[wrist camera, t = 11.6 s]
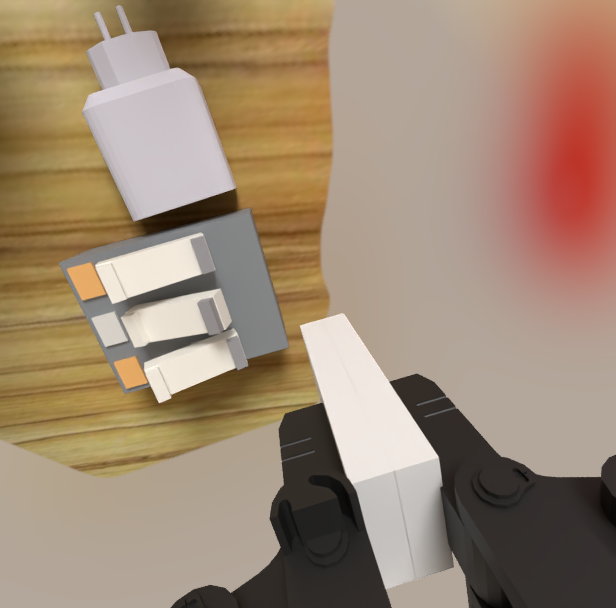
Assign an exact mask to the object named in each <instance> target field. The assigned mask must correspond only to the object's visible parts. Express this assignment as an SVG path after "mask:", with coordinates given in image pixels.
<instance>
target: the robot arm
mask: <svg viewBox="0 0 616 608" xmlns="http://www.w3.org/2000/svg"><path fill="white" fill-rule="evenodd" d="M300 328H301V331H302V335H303V339H304V342H305V346H306V350H307V353H308V357H309V361H310V365H311V368H312V372H313V376H314V379H315V383H316V387H317V390H318V394H319V397H320V401H321V403H320V404H316V405H313V406H310V407H306V408H303V409H299V410H296V411H292V412H289V413H286V414H285V415H284V418H283V420H282V422H281V425H280V427H279V438H280V447H281V458H282V469H283V478H284V486H282V487H281V488H280V490H279V491H278V493H277V495H276V497H275V498H274V500H273V502H272V507H271V513H270V521H271V523H272V526H273V529H274V531H275V534H276V536H277V539H278V541H279V544H280V547H281V548H280V550H279V552H278V554H277V555H276V556H275V557H274V559H273V560H272V561H271V563H270V564H269V565H268V566H267V567H266V568H265V569H263V570H262V571H261V572H260V573H259V574H257V575H256V576H255V577H253V578H252V579H250V580H249V581H248V582H246V583H245V584H243V585H242V586H240V587H239V588H238V589H236V590H235V591H233V592H232V593H230V592H229V591H228V590H227V589H226V588H223V587H218V586H213V585H208V586H205V587H201V588H198V589H194V590H192V591H191V592H189V593H188V594H186V595H185V596H183V597H182V598H181V599H179V600H177V601H176V602H175V603H174V604H173V606H172V607H171V608H392V607H391V604H390V601H389V598H388V595H387V592H386V589H388V588H391V587H394V586H398V585H400V584H404V583H407V582H410V581H413V580H416V579H419V578H422V577H425V576H428V575H431V574H434V573H438V572H441V571H443V570H447V569H450V568H453V567H454V565H453V557H452V551H453V553H454V555H455V557H456V559H457V561H458V563H459V565H460V566H461V569H462V570H463V572H464V574H465V578H466V586H467V594H468V602H469V608H616V455H614V456H612V457H609V458H608V460H607V461H606V462H605V463H604V465H603V466H602V471H601V477H547V476H541V475H537V474H535V473H534V472H532V471H531V470H530V469H529V468H527V467H526V466H525V465H523V464H521V463H518V462H516V461H514V460H511V459H509V458H505V457H501V456H500V455H499V454H498V453H496V451H495V450H494V449H493V448H492V447H491V446H490V445H489V444H488V442H487V441H486V440H485V439H484V438H483V437H482V436H481V434H480V433H479V432H478V431H477V430H476V429H475V428H474V427H473V425H472V424H471V423H470V422H469V421H468V420H467V419H466V418H465V416H464V415H463V414H462V413H461V412H460V411H459V410H458V409H456V407H455V405H454V404H453V403H452V402H451V400H450V399H449V398H447V397H446V395H445V394H444V393H443V391H442V390H441V389H440V388H439V387H438V386H437V385H436V384H435V382H433V381H431V380H429V379H427V378H425V377H423V376H421V375H419V374H414V375H411V376H407V377H404V378H400V379H397V380H393V381H390V382H389V381H388V380H387V378H386V377H385V375H384V374H383V372H382V371H381V369H380V368H379V366H378V365H377V364H376V362H375V360H374V359H373V357H372V356H371V354H370V353H369V351H368V350H367V348H366V347H365V345H364V344H363V342H362V341H361V339H360V338H359V336H358V335H357V333H356V332H355V330H354V329H353V327H352V326H351V324H350V323H349V321H348V319H347V318H346V316H345V315H344V314H343V313H342V314H339V315H335V316H332V317H328V318H325V319H321V320H317V321H314V322H310V323H307V324H303V325H300Z"/></svg>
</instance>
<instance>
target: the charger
mask: <svg viewBox="0 0 616 608" xmlns="http://www.w3.org/2000/svg"><path fill="white" fill-rule="evenodd" d="M116 11H117V13H118V16H119V18H120V21H121V23H122V26H123V28H124V31H125V33H126V34H124V35H121V36H118V37H114V38H111V37H110V34H109V32H108V30H107V27H106V25H105V22H104V20H103V18H102V15H101V13H99V12H95V13H94V17H95V19H96V21H97V24H98V26H99V28H100V31H101V33H102V35H103V38H104V40H105V41H101V42H100V43H98V44H96V45H95V46H93V47H92V48H90V49H88V50H87V52H86V54H87V56H88V58H89V61H90V63H91V65H92V67H93V70H94V72H95V74H96V76H97V79H98V81H99V83H100V85H101V88H102V90H101V91H98V92H95V93H92V94H90V95H89V96H88V98H87V101H86V103H85V106H84V109H83V111H82V113H83V115H84V118H85V120H86V122H87V124H88V126H89V128H90V130H91V132H92V134H93V136H94V139H95V141H96V143H97V145H98V147H99V149H100V151H101V153H102V155H103V158H104V160H105V162H106V164H107V166H108V168H109V170H110V172H111V174H112V177H113V179H114V181H115V183H116V185H117V187H118V189H119V191H120V193H121V196H122V198H123V200H124V202H125V204H126V206H127V208H128V210H129V212H130V215H131V217H132V219H133V221H137V220H140V219H143V218H147V217H150V216H153V215H156V214H160V213H163V212H166V211H169V210H173V209H176V208H179V207H182V206H185V205H188V204H191V203H194V202H197V201H200V200H203V199H206V198H209V197H212V196H215V195H218V194H221V193H224V192H227V191H229V190H232V189H235V188H237V187H236V184H235V181H234V178H233V175H232V173H231V170H230V167H229V164H228V161H227V159H226V156H225V153H224V150H223V147H222V145H221V142H220V139H219V136H218V133H217V131H216V128H215V125H214V122H213V119H212V117H211V114H210V111H209V108H208V105H207V103H206V100H205V97H204V94H203V91H202V89H201V86H200V85H199V83H198V81H197V79H196V78H195V77H193V76H192V75H190V74H188V73H186V72H185V71H183V70H181V69H180V68H173V69H170V67H169V64H168V61H167V59H166V56H165V53H164V51H163V48H162V46H161V43H160V40H159V38H158V35H157V32H156V31H151V30H150V31H140V32H132V30H131V27H130V25H129V22H128V20H127V17H126V15H125V12H124V10H123V7H122V6H120V5H118V6H116Z"/></svg>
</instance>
